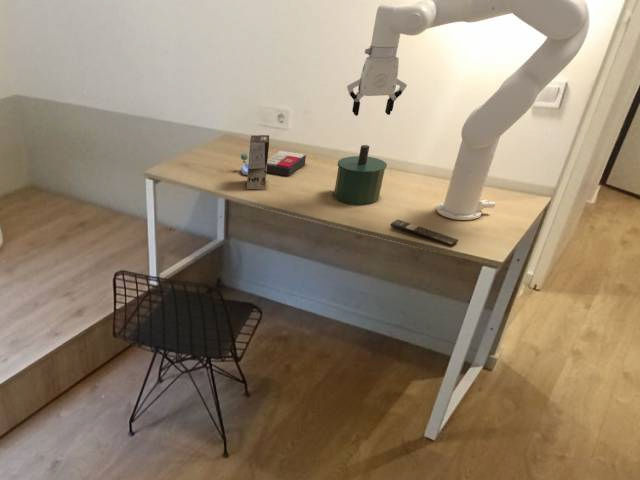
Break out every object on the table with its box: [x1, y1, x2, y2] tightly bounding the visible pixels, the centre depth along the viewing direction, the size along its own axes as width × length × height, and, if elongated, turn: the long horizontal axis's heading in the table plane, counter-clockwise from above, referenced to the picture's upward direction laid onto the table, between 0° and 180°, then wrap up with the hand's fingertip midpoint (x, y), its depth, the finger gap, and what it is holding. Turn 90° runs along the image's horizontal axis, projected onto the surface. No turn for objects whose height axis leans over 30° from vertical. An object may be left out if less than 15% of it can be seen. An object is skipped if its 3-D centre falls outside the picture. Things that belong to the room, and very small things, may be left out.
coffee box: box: [246, 134, 270, 191], centre depth 215 cm, size 9×6×16 cm
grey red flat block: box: [266, 150, 307, 177], centre depth 231 cm, size 11×4×15 cm
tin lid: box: [337, 144, 388, 173], centre depth 199 cm, size 15×15×7 cm
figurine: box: [240, 152, 249, 176], centre depth 228 cm, size 8×7×7 cm
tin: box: [333, 166, 386, 206], centre depth 204 cm, size 14×14×10 cm
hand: (371, 114), depth 191 cm, fingers open, 9 cm apart
